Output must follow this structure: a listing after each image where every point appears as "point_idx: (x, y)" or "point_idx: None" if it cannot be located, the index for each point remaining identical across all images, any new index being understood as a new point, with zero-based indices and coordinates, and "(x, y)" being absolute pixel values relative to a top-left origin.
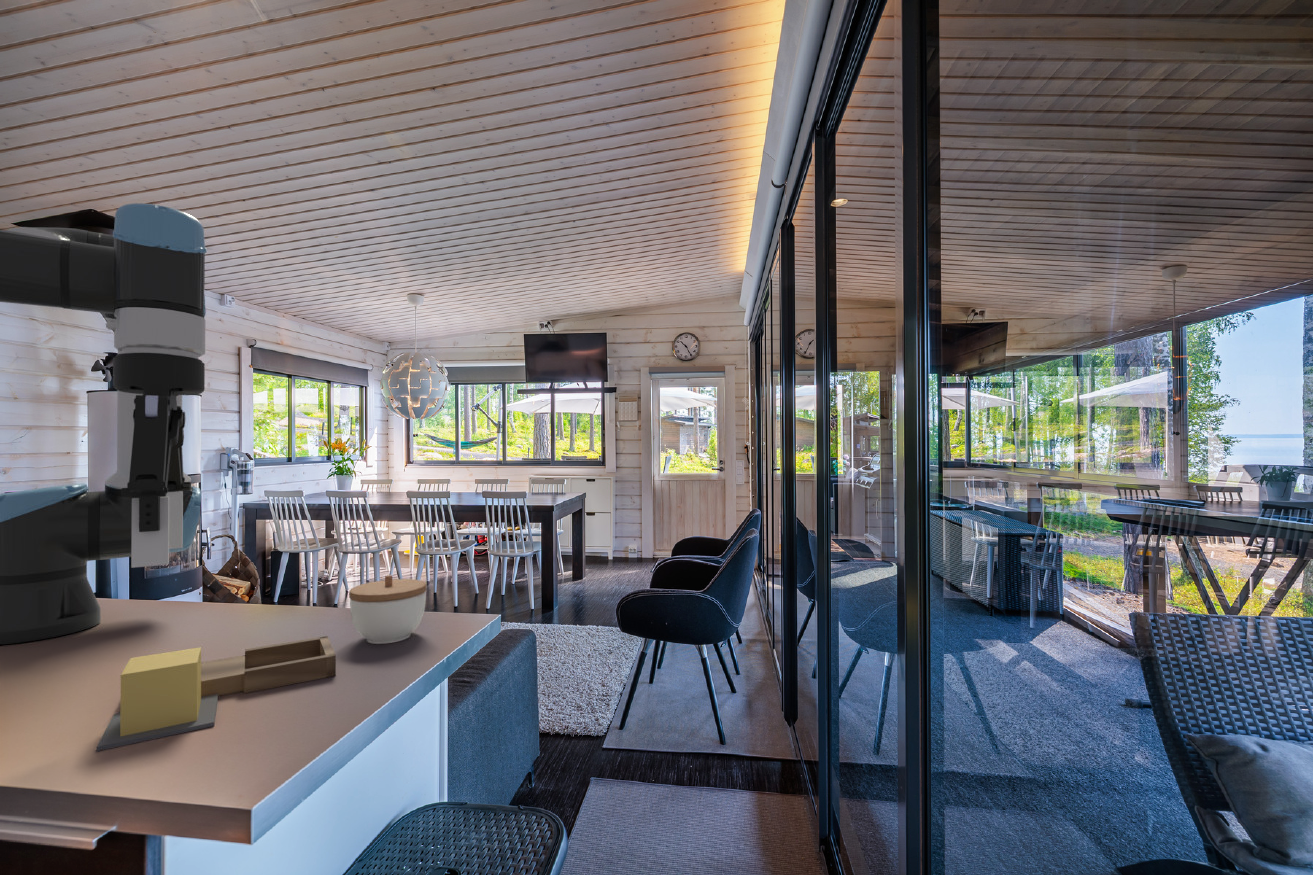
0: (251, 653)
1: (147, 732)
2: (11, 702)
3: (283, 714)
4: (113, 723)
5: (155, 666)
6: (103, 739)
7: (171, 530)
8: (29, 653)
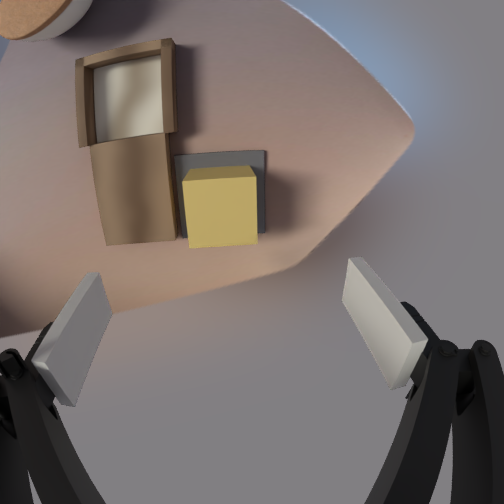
0: (88, 138)
1: None
2: None
3: (271, 92)
4: None
5: (244, 217)
6: None
7: (90, 311)
8: (7, 328)
